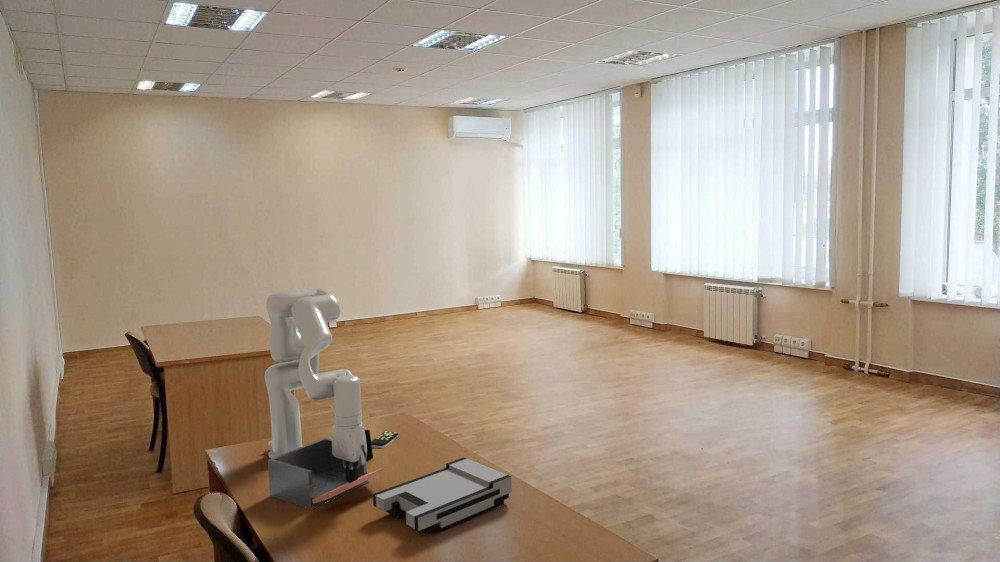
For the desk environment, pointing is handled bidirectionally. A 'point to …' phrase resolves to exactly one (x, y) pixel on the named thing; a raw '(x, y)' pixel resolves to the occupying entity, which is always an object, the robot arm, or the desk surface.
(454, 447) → the desk surface
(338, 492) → the tailgate
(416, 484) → the game console
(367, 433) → the speaker
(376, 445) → the remote control
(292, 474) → the box
